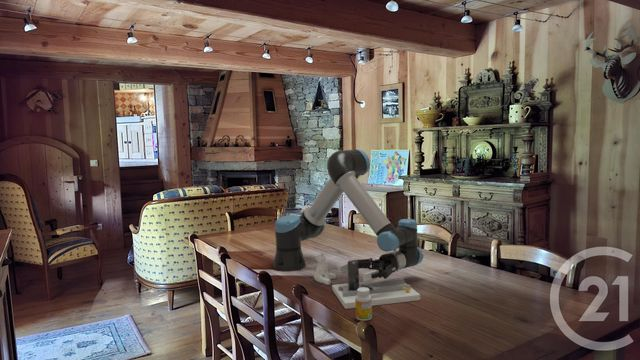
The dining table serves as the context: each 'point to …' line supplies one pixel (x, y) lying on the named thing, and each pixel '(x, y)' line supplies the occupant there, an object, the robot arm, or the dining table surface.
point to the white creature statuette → (323, 270)
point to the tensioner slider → (354, 278)
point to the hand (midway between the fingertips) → (351, 273)
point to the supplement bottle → (363, 304)
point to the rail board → (379, 292)
